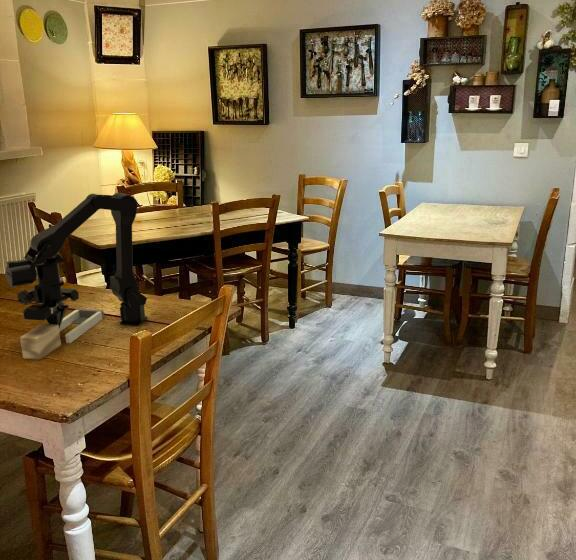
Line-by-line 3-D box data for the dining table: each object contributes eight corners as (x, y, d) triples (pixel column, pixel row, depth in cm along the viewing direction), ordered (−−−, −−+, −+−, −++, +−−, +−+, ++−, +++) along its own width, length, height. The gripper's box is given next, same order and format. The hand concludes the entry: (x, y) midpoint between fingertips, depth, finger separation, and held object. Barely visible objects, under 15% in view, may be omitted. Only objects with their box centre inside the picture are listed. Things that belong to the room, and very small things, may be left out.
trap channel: (104, 317, 185) (103, 310, 184) (70, 343, 166) (69, 335, 165) (78, 316, 186) (77, 308, 185) (41, 340, 167) (40, 332, 166)
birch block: (61, 344, 165) (58, 324, 163) (39, 359, 155) (36, 338, 154) (45, 343, 166) (42, 323, 164) (23, 358, 156) (19, 337, 155)
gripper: (41, 268, 172) (48, 318, 176) (1, 288, 154) (9, 343, 159) (76, 270, 170) (82, 320, 174) (39, 291, 152) (46, 346, 157)
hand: (55, 332), depth 166 cm, fingers closed
